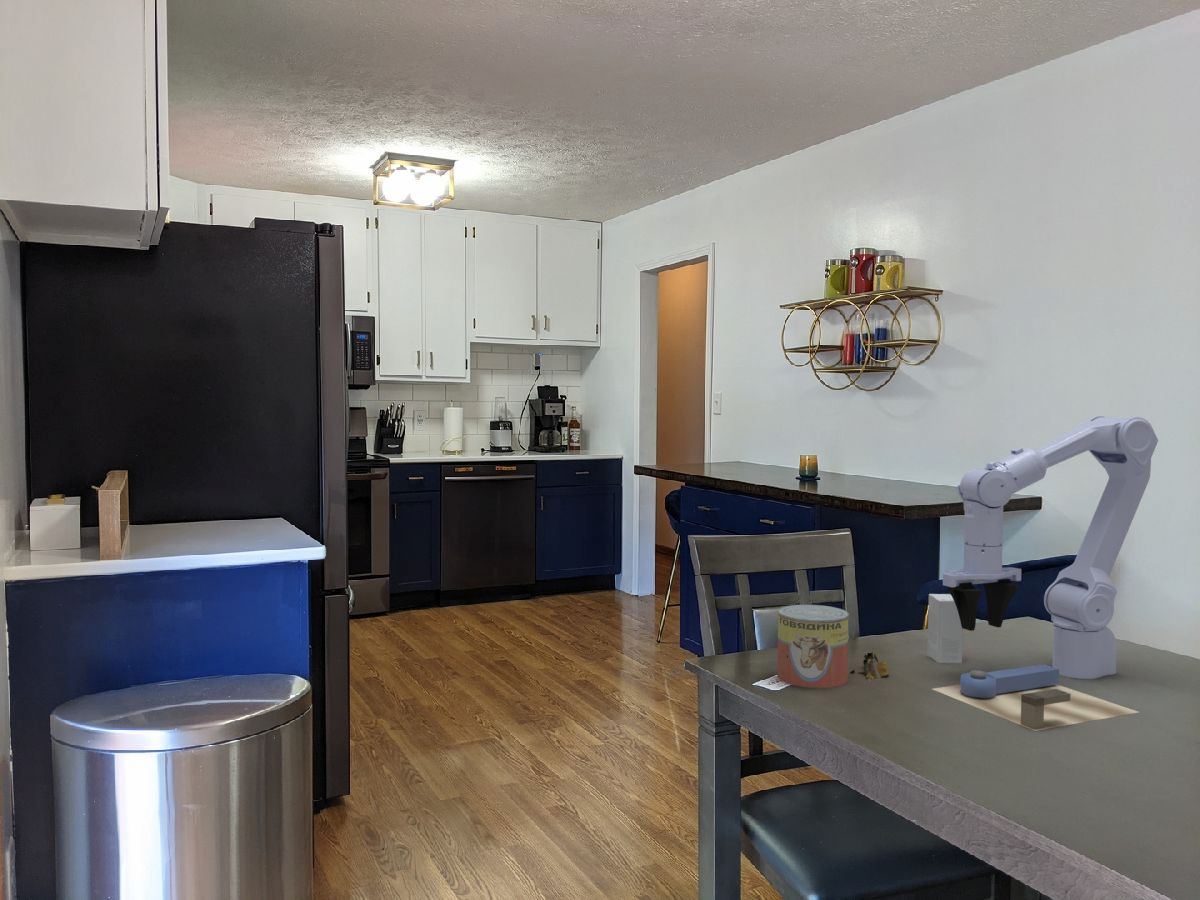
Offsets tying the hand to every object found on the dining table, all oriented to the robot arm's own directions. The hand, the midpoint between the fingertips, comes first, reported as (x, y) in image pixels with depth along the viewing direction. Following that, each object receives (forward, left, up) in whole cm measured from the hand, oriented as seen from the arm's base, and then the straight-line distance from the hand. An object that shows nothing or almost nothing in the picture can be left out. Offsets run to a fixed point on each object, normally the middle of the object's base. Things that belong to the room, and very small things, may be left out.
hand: (981, 627), depth 150 cm
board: (+1, +12, -9) cm, 15 cm away
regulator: (+17, -7, -10) cm, 21 cm away
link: (+1, +7, -8) cm, 10 cm away
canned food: (+25, -10, -10) cm, 29 cm away
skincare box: (-3, -11, -10) cm, 15 cm away
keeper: (+8, +20, -9) cm, 24 cm away
